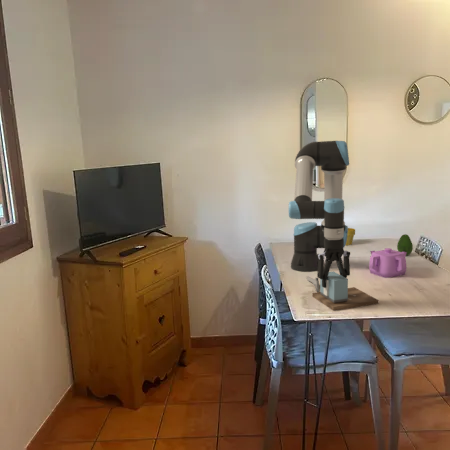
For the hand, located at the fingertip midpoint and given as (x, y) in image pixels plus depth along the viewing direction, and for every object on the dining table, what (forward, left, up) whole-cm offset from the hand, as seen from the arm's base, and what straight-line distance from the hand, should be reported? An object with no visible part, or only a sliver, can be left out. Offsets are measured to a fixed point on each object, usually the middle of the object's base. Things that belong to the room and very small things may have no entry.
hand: (333, 293), depth 173 cm
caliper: (-22, +2, -4) cm, 23 cm away
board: (0, +5, -3) cm, 6 cm away
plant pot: (-86, +59, -4) cm, 104 cm away
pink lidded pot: (-25, +44, -4) cm, 51 cm away
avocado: (-49, +73, -4) cm, 88 cm away
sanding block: (0, 0, -1) cm, 1 cm away
